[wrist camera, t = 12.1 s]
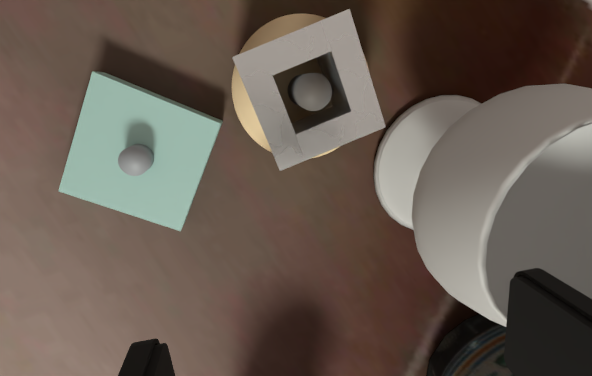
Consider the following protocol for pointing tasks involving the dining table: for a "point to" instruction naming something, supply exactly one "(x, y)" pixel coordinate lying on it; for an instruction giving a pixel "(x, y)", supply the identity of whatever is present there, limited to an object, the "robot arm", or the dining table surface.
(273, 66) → the collar
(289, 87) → the hub
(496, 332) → the beer stein
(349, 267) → the dining table surface
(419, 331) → the dining table surface
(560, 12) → the dining table surface
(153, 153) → the stand
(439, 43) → the dining table surface
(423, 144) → the chalice
